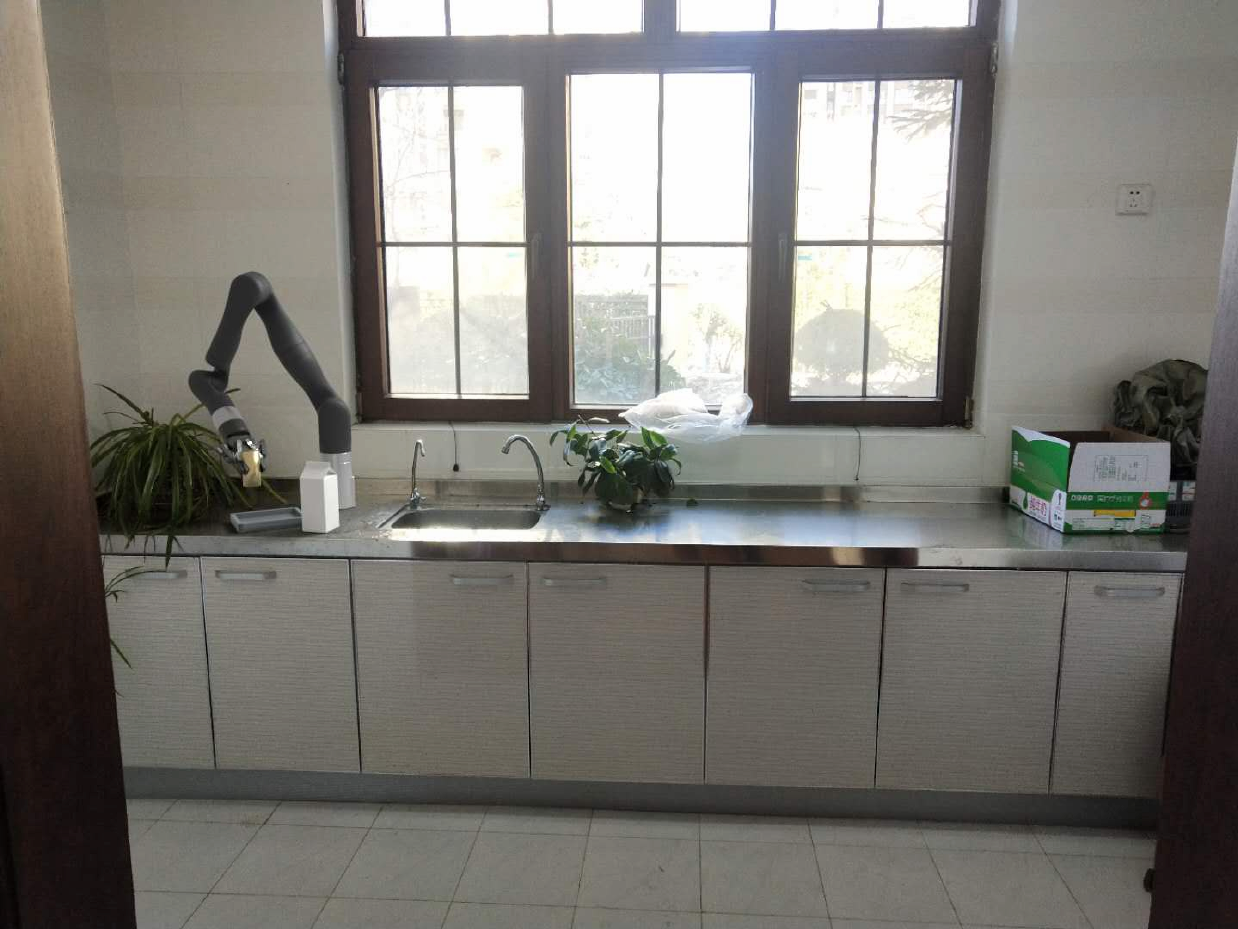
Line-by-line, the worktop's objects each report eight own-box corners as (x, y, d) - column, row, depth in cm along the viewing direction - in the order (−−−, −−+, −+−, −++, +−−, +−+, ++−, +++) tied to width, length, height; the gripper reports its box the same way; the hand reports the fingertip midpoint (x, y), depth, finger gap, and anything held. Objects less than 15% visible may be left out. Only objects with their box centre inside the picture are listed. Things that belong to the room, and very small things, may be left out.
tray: (297, 515, 249) (296, 506, 249) (308, 525, 237) (308, 516, 237) (230, 522, 239) (230, 513, 239) (239, 533, 228) (238, 524, 227)
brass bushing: (255, 483, 244) (253, 448, 243) (264, 485, 242) (262, 450, 240) (240, 485, 241) (238, 450, 239) (248, 487, 238) (246, 452, 236)
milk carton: (325, 533, 229) (322, 464, 226) (302, 531, 231) (298, 463, 227) (339, 527, 236) (336, 460, 233) (316, 525, 238) (313, 459, 234)
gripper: (210, 419, 237) (235, 467, 232) (258, 415, 248) (283, 460, 243) (202, 436, 241) (226, 483, 236) (249, 431, 252) (274, 476, 247)
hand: (255, 471), depth 239 cm, fingers closed on brass bushing, 4 cm apart
